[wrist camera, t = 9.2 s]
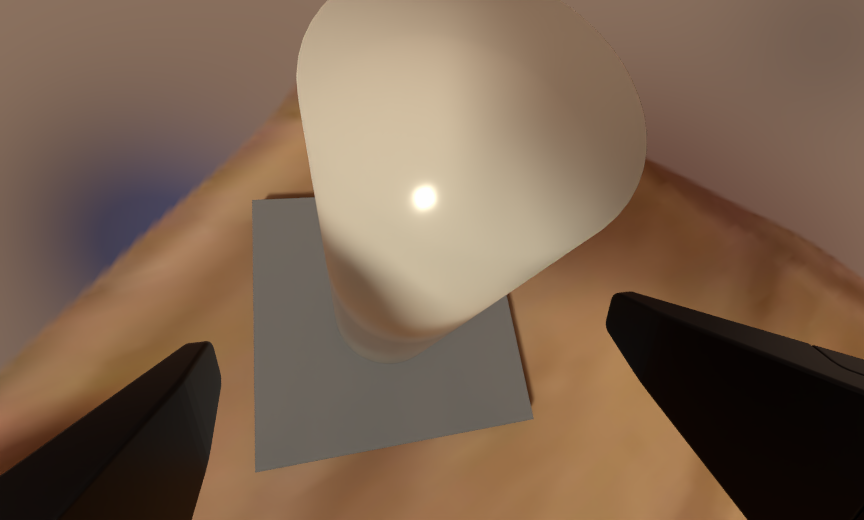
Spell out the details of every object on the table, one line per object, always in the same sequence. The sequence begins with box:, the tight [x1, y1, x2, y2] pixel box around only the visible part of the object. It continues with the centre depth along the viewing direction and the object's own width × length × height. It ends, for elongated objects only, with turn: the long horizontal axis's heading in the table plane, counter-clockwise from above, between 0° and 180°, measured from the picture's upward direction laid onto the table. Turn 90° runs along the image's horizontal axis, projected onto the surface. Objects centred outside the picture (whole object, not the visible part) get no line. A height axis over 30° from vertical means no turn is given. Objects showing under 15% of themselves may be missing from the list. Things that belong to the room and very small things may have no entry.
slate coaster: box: [252, 197, 533, 472], centre depth 17 cm, size 11×11×1 cm
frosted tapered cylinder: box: [296, 0, 647, 364], centre depth 11 cm, size 5×5×13 cm
